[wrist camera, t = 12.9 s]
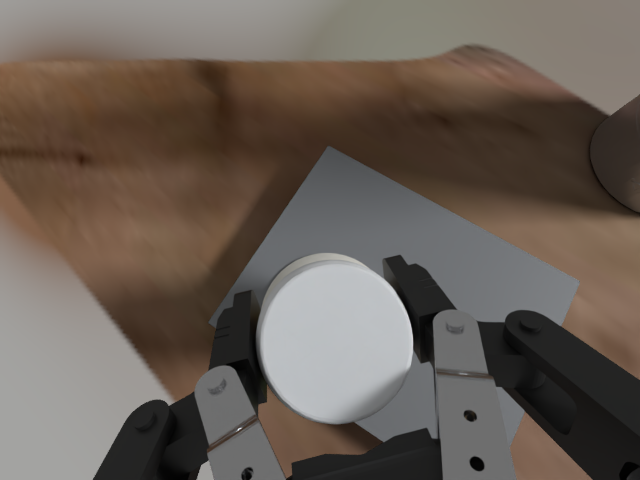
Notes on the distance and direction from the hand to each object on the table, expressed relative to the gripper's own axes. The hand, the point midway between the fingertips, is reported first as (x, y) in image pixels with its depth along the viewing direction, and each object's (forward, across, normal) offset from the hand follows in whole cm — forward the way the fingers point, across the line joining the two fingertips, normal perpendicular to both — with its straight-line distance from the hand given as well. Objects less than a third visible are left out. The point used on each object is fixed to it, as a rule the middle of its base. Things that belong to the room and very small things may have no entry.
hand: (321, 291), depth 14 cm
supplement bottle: (+2, 0, +5) cm, 5 cm away
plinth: (+6, -4, +7) cm, 11 cm away
